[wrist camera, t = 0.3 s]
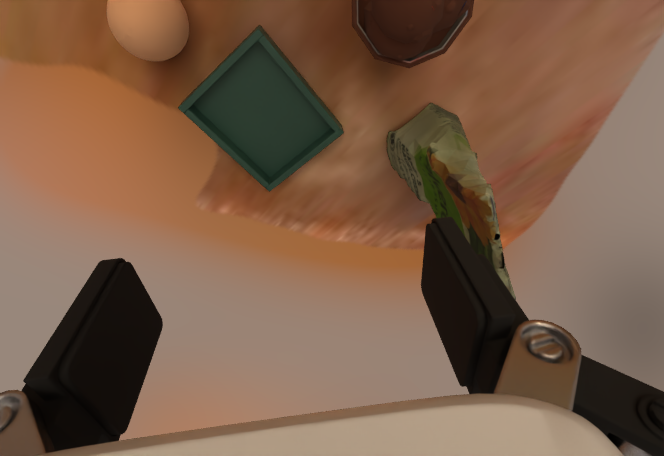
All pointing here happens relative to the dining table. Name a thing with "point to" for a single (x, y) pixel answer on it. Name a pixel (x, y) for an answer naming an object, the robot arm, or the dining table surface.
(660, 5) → the dining table surface
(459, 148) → the pouch
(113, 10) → the egg
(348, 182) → the dining table surface
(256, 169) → the tray
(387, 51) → the ice cream bowl
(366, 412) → the robot arm
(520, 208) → the dining table surface
